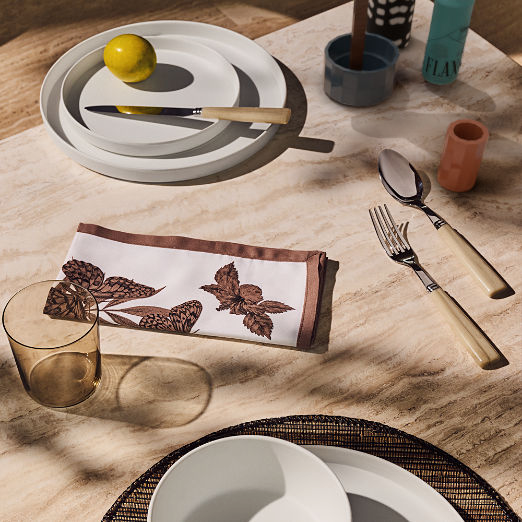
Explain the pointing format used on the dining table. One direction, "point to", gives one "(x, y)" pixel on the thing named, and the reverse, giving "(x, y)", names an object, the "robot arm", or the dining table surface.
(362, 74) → the bowl
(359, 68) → the stirring stick
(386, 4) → the glass
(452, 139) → the crock
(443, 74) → the beverage bottle
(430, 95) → the dining table surface
